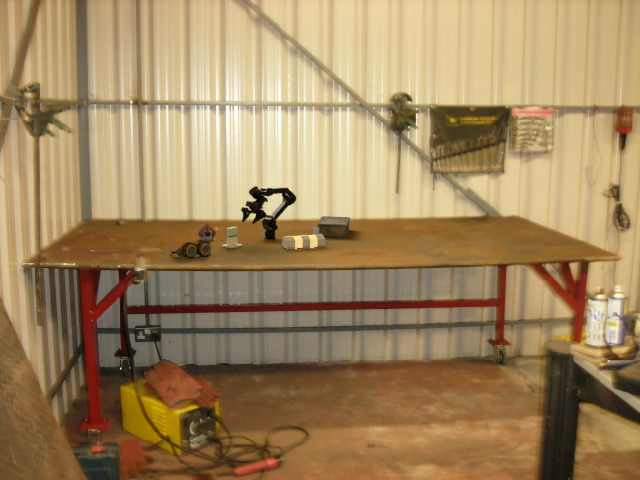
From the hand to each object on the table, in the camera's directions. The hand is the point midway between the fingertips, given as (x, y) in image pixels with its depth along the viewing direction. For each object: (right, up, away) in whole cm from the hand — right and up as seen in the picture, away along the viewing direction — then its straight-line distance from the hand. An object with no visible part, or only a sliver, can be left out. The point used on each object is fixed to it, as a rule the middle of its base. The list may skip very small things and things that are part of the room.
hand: (247, 222), depth 425 cm
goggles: (-28, -20, -32) cm, 47 cm away
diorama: (+36, -16, -8) cm, 41 cm away
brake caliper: (-28, -11, +11) cm, 32 cm away
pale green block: (-9, -8, -9) cm, 15 cm away
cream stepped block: (-9, -15, -8) cm, 19 cm away
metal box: (+57, -7, +39) cm, 69 cm away
